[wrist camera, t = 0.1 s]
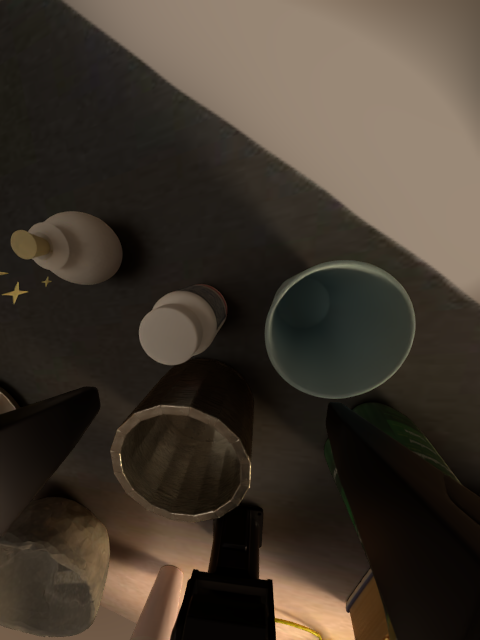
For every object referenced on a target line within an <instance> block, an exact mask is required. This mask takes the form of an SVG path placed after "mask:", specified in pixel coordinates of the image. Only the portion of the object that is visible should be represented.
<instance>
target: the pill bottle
mask: <svg viewBox="0 0 480 640" xmlns="http://www.w3.org/2000/svg"><path fill="white" fill-rule="evenodd" d="M226 316H227V304H226V301H225V299H224V297H223V296H222V294H221V293H220V292H219V291H218V290H216V289H215V288H213V287H211V286H209V285H205V284H196V285H192V286H189V287H186V288H183V289H180V290H177V291H173V292H171V293H168V294H167V295H165V296H163V297H162V298H161V299H159V300H158V301H157V303H156V304H155V305H154V307H153V309H152V311H151V312H149V313H148V314H147V315H146V316H145V317H144V318H143V320H142V322H141V324H140V328H139V339H140V342H141V345H142V347H143V349H144V350H145V352H146V353H147V354H148V355H149V356H150V357H151V358H152V359H154V360H155V361H157V362H159V363H162V364H165V365H178V364H181V363H183V362H185V361H187V360H188V359H190V358H191V357H192V356H195V355H198V354H200V353H202V352H203V351H204V350H206V349H207V348H208V347H209V346H210V344H211V343H212V341H213V339H214V338H215V336H216V334H217V333H218V331H219V330H220V328H221V327H222V325H223V324H224V322H225V320H226Z"/></svg>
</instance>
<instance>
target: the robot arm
mask: <svg viewBox="0 0 480 640" xmlns="http://www.w3.org/2000/svg"><path fill="white" fill-rule="evenodd" d="M99 410H100V400H99V393H98V389H97V388H96V387H82V388H79V389H76V390H73V391H70V392H67V393H64V394H61V395H58V396H55V397H52V398H49V399H46V400H43V401H40V402H36V403H33V404H30V405H27V406H24V407H21V408H18V409H15V410H12V411H9V412H6V413H3V414H0V539H1V538H2V536H3V535H4V534H5V533H6V531H7V530H8V529H9V528H10V527H11V525H12V524H13V523H14V522H15V520H16V519H17V518H18V517H19V515H20V514H21V513H22V512H23V510H24V509H25V508H26V507H27V505H28V504H29V503H30V502H31V501H32V499H33V498H34V497H35V496H36V494H37V493H38V492H39V491H40V489H41V488H42V487H43V486H44V484H45V483H46V482H47V481H48V479H49V478H50V477H51V476H52V475H53V473H54V472H55V471H56V470H57V468H58V467H59V466H60V465H61V463H62V462H63V461H64V460H65V458H66V457H67V456H68V455H69V453H70V452H71V451H72V450H73V448H74V447H75V445H76V444H77V443H78V441H79V440H80V438H81V437H82V435H83V434H84V432H85V431H86V430H87V428H88V427H89V425H90V424H91V422H92V421H93V419H94V418H95V416H96V415H97V413H98V412H99ZM326 429H327V433H328V437H329V441H330V445H331V449H332V453H333V457H334V461H335V465H336V469H337V473H338V476H339V479H340V481H341V484H342V487H343V490H344V493H345V495H346V498H347V501H348V504H349V507H350V509H351V512H352V515H353V518H354V521H355V523H356V526H357V529H358V532H359V535H360V537H361V540H362V543H363V546H364V549H365V551H366V554H367V557H368V560H369V563H370V565H371V568H372V571H373V574H374V577H375V579H376V582H377V585H378V588H379V590H380V593H381V596H382V599H383V602H384V604H385V607H386V610H387V613H388V616H389V618H390V621H391V624H392V627H393V630H394V632H395V635H396V638H397V640H480V497H479V496H478V495H476V494H475V493H473V492H472V491H470V490H469V489H467V488H466V487H464V486H463V485H461V484H460V483H458V482H457V481H455V480H454V479H453V478H451V477H450V476H448V475H447V474H444V475H443V472H442V471H441V470H439V469H438V468H436V467H435V466H433V465H432V464H430V463H429V462H427V461H426V460H424V459H423V458H422V457H420V456H419V455H417V454H416V453H414V452H413V451H411V450H410V449H408V448H407V447H405V446H404V445H402V444H401V443H399V442H398V441H396V440H395V439H394V438H392V437H391V436H389V435H388V434H386V433H385V432H383V431H382V430H380V429H379V428H377V427H376V426H374V425H373V424H371V423H370V422H368V421H367V420H366V419H364V418H363V417H361V416H360V415H358V414H357V413H355V412H354V411H352V410H351V409H349V408H348V407H346V406H345V405H343V404H342V403H337V402H330V403H329V404H328V409H327V417H326ZM262 527H263V509H262V508H258V507H248V506H239V505H238V506H237V507H235V508H234V509H232V510H231V511H229V512H227V513H226V514H224V515H223V516H221V517H219V518H215V519H213V539H214V540H213V545H212V551H211V557H210V563H209V569H208V572H201V571H198V570H195V569H193V572H192V576H191V579H189V580H188V582H187V587H186V591H185V595H184V599H183V603H182V606H181V608H180V611H179V614H178V616H177V619H176V622H175V624H174V627H173V629H172V632H171V637H170V640H276V631H275V615H274V599H273V583H272V580H271V579H267V580H261V579H259V548H260V547H261V546H262Z"/></svg>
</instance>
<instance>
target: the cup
mask: <svg viewBox="0 0 480 640" xmlns="http://www.w3.org/2000/svg"><path fill="white" fill-rule="evenodd" d="M414 334H415V314H414V309H413V306H412V303H411V300H410V298H409V296H408V294H407V292H406V291H405V289H404V288H403V286H402V285H401V284H400V283H399V282H398V281H397V280H396V279H395V278H394V277H393V276H392V275H390V274H389V273H387V272H386V271H384V270H383V269H381V268H379V267H377V266H374V265H372V264H368V263H365V262H360V261H354V260H338V261H331V262H326V263H322V264H319V265H316V266H313V267H311V268H309V269H307V270H305V271H303V272H301V273H299V274H297V275H295V276H293V277H291V278H290V279H287V280H286V281H284V282H283V283H282V285H281V286H280V287H279V289H278V290H277V292H276V294H275V297H274V299H273V302H272V304H271V307H270V310H269V312H268V315H267V319H266V324H265V345H266V349H267V353H268V356H269V358H270V361H271V363H272V365H273V366H274V368H275V369H276V371H277V372H278V373H279V375H280V376H281V377H282V378H283V379H284V380H285V381H286V382H288V383H289V384H290V385H292V386H293V387H295V388H296V389H298V390H300V391H302V392H304V393H307V394H309V395H312V396H316V397H322V398H330V399H337V398H347V397H353V396H357V395H360V394H363V393H366V392H368V391H370V390H372V389H374V388H376V387H378V386H379V385H381V384H382V383H384V382H385V381H386V380H388V379H389V378H390V377H391V376H392V375H393V374H394V373H395V372H396V371H397V370H398V369H399V367H400V366H401V365H402V363H403V362H404V360H405V359H406V357H407V355H408V353H409V351H410V349H411V346H412V343H413V339H414Z"/></svg>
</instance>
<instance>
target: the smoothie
mask: <svg viewBox="0 0 480 640" xmlns="http://www.w3.org/2000/svg"><path fill="white" fill-rule="evenodd" d="M182 581H183V573H182V572H181V570H180V569H178V568H177V567H174V566H170V565H167V566H163V567H162V568H161V569H160V571H159V573H158V576H157V578H156V580H155V583H154V585H153V587H152V590H151V592H150V594H149V597H148V599H147V601H146V604H145V606H144V608H143V611H142V613H141V615H140V618H139V620H138V622H137V625H136V627H135V630H134V632H133V634H132V637H131V639H130V640H170V637H171V632H172V629H173V627H174V624H175V622H176V619H177V613H178V606H179V600H180V594H181V588H182Z"/></svg>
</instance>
